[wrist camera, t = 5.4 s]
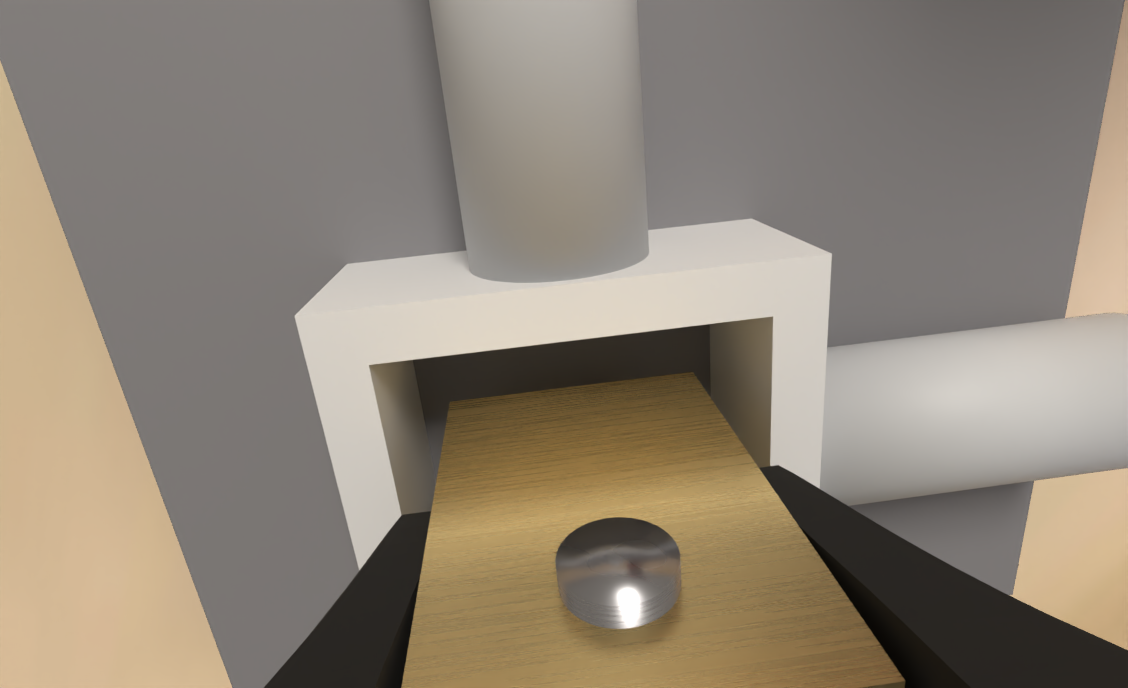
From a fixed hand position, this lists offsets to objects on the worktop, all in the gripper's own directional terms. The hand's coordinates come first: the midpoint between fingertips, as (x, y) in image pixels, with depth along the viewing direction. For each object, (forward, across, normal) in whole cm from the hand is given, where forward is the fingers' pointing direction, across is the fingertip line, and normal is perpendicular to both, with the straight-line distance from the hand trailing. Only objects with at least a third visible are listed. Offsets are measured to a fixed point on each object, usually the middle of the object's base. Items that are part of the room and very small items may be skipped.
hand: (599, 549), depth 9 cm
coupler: (+2, 0, 0) cm, 2 cm away
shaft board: (+5, -1, -3) cm, 6 cm away
